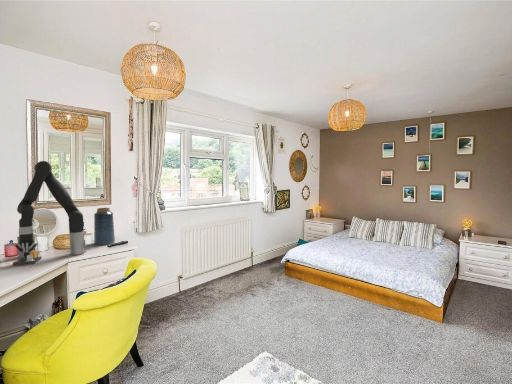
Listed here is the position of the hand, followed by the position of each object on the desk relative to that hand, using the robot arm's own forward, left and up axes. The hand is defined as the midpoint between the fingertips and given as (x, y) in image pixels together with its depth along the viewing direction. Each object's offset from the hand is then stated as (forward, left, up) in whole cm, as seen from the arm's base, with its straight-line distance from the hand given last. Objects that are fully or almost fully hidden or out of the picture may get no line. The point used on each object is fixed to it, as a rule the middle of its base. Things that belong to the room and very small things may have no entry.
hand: (26, 257), depth 186 cm
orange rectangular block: (-4, 0, -1) cm, 4 cm away
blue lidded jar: (-38, -44, -4) cm, 58 cm away
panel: (0, 0, -4) cm, 4 cm away
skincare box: (+8, -17, -4) cm, 19 cm away
